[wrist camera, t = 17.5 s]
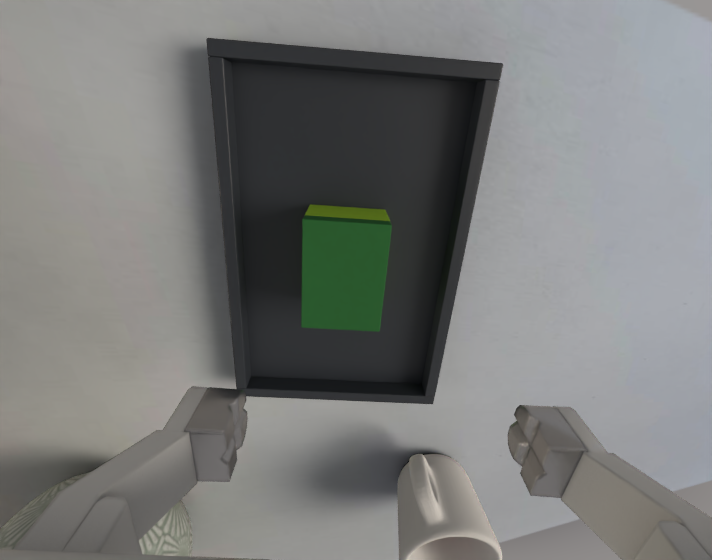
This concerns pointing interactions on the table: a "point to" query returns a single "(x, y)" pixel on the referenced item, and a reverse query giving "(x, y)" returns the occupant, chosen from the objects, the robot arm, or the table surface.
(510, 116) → the table surface
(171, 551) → the planter
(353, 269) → the sponge
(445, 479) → the cup
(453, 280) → the tray
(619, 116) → the table surface
